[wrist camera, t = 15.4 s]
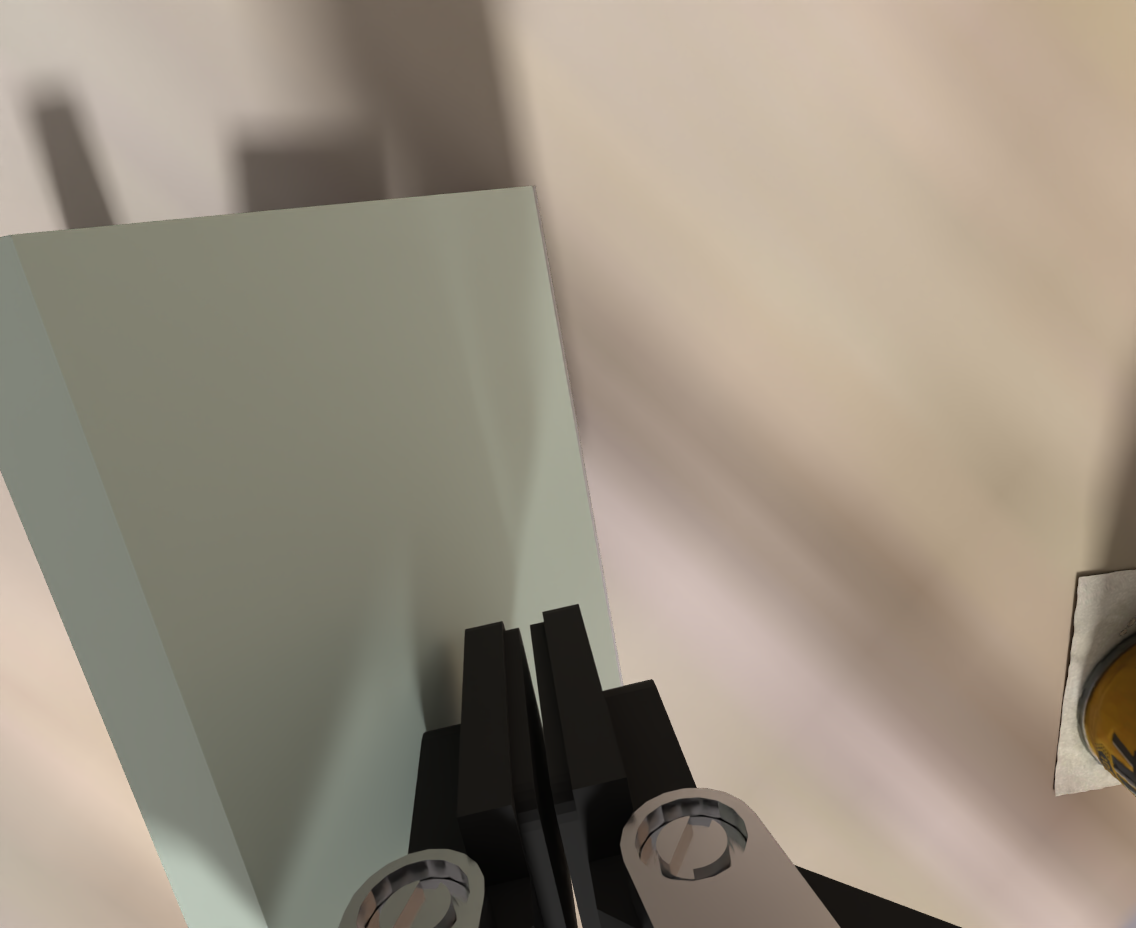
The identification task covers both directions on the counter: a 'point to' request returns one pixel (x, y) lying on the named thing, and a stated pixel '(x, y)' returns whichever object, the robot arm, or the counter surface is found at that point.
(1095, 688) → the condiment
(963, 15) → the counter surface
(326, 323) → the lid
